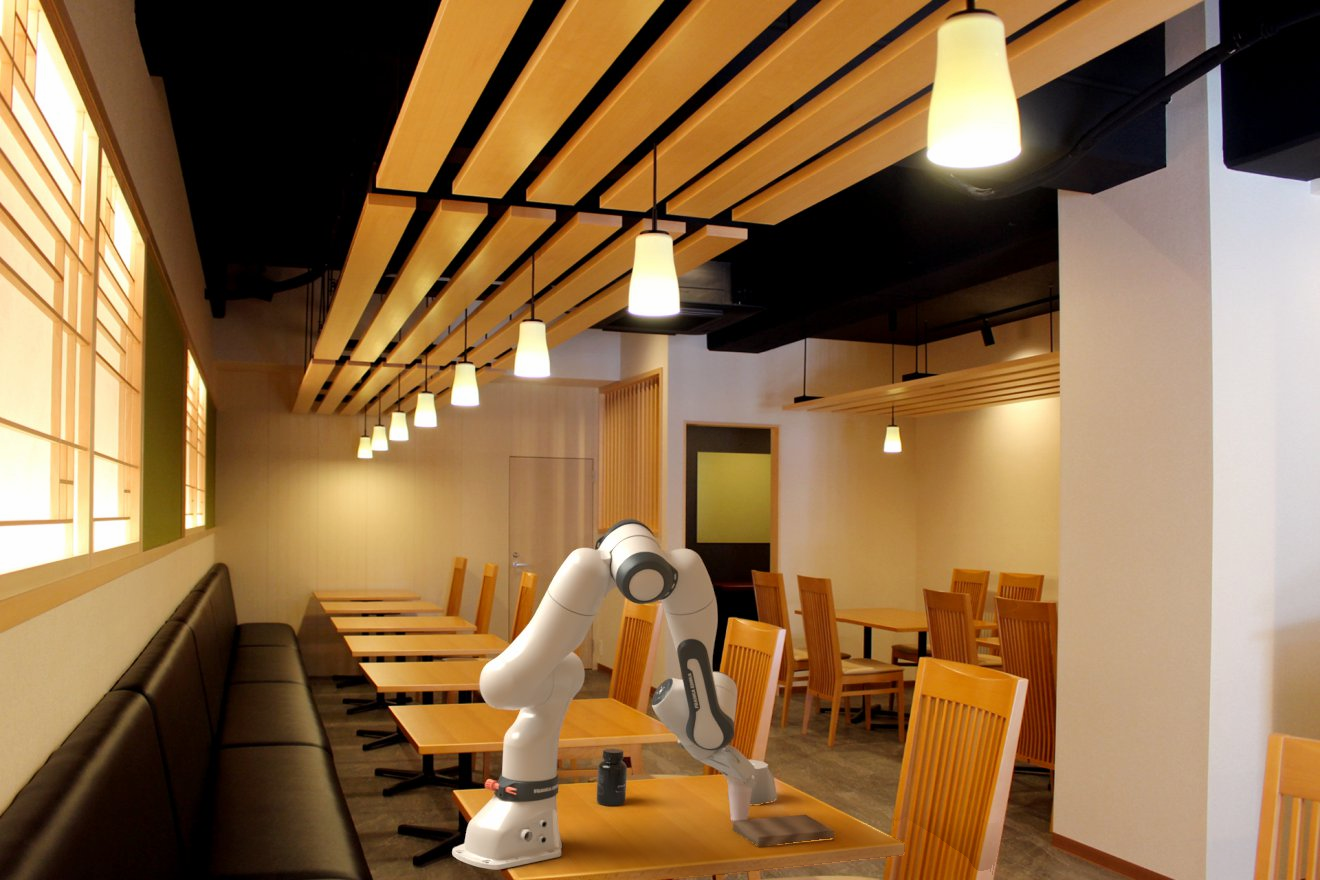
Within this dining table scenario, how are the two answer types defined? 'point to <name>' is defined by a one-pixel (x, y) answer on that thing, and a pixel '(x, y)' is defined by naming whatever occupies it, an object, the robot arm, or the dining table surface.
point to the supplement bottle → (611, 778)
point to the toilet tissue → (762, 784)
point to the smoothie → (738, 798)
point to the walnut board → (782, 830)
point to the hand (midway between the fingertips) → (741, 780)
